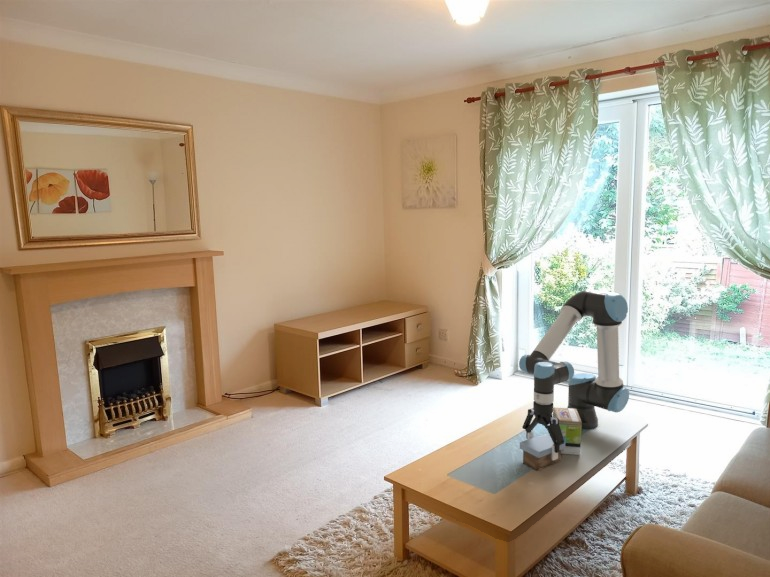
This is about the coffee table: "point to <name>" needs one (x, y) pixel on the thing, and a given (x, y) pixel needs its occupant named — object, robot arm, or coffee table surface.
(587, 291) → the robot arm
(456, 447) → the coffee table surface
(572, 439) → the tea box
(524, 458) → the caddy
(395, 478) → the coffee table surface
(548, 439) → the lid
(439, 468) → the coffee table surface
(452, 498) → the coffee table surface
